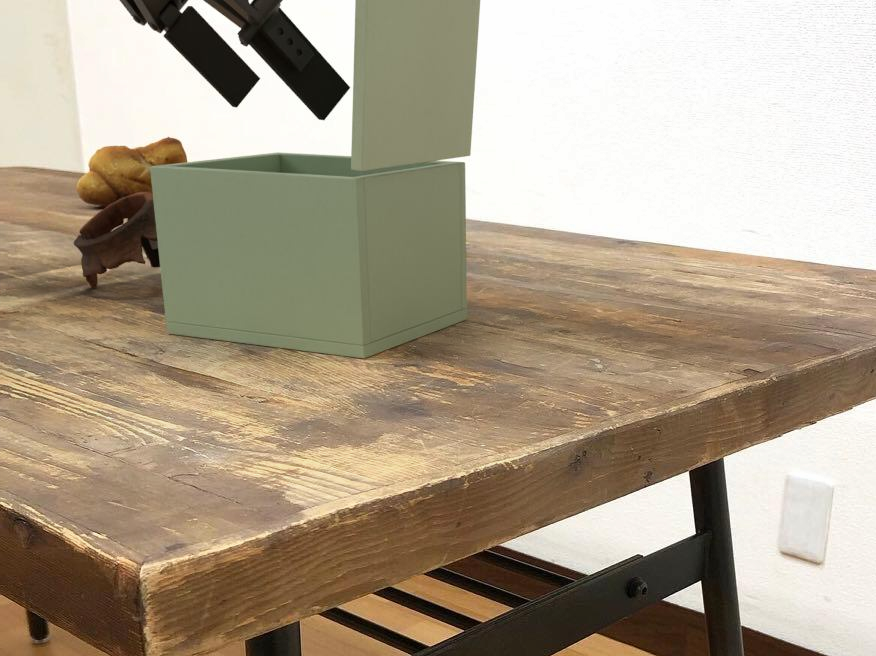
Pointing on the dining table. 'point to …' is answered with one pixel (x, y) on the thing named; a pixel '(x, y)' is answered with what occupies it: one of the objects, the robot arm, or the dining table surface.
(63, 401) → the dining table surface
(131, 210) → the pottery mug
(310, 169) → the box
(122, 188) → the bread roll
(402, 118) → the lid
